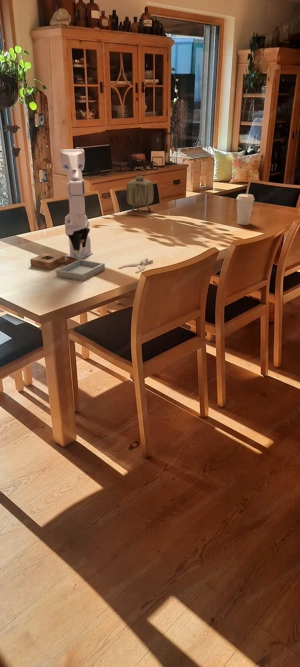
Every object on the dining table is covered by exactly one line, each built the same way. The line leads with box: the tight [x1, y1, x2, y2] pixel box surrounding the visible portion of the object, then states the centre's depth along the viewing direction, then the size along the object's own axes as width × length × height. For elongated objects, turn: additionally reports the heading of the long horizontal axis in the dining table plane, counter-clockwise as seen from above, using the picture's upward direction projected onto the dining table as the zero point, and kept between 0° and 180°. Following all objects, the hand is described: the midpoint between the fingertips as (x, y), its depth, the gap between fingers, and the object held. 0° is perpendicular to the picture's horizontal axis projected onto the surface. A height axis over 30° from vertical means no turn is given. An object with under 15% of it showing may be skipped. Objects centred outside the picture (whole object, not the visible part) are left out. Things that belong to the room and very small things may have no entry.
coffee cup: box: [236, 193, 256, 226], centre depth 269 cm, size 10×10×15 cm
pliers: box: [118, 257, 154, 274], centre depth 206 cm, size 10×2×15 cm
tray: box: [55, 258, 106, 282], centre depth 198 cm, size 16×12×2 cm
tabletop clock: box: [125, 166, 155, 213], centre depth 293 cm, size 14×9×25 cm, turn 66°
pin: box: [73, 238, 84, 260], centre depth 194 cm, size 4×4×8 cm
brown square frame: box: [30, 252, 66, 271], centre depth 207 cm, size 10×10×3 cm
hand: (79, 248), depth 194 cm, fingers closed on pin, 4 cm apart
